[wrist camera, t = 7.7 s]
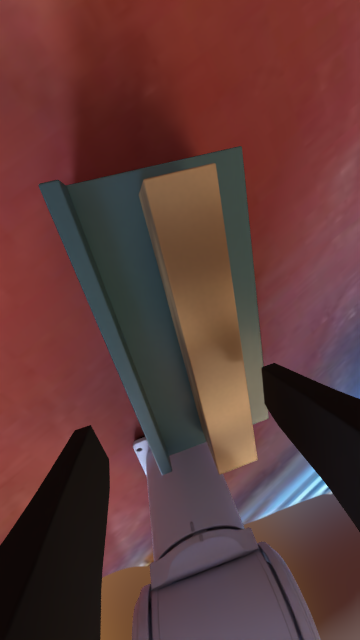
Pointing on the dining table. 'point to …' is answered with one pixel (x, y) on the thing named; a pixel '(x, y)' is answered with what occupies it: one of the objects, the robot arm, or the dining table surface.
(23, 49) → the dining table surface
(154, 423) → the shelf
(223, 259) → the stick
